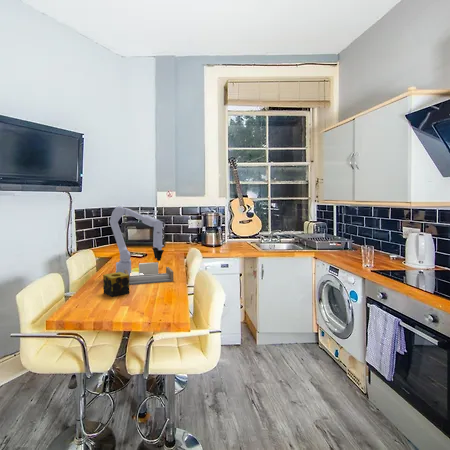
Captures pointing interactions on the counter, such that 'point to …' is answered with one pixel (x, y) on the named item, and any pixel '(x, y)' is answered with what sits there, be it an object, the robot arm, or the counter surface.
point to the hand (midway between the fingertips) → (157, 259)
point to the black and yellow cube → (116, 284)
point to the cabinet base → (151, 277)
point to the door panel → (148, 268)
